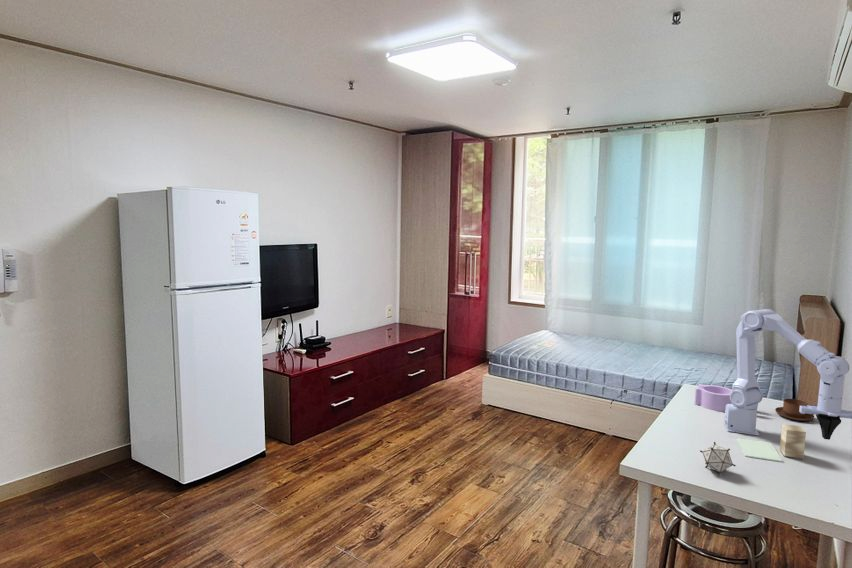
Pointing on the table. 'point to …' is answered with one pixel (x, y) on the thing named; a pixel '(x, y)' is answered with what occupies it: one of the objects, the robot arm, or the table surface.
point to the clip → (712, 397)
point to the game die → (717, 458)
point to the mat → (758, 450)
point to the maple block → (792, 441)
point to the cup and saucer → (793, 410)
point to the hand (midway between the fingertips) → (825, 438)
